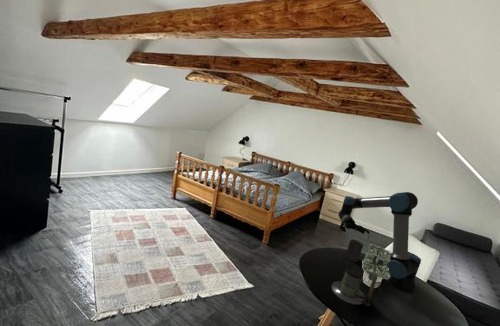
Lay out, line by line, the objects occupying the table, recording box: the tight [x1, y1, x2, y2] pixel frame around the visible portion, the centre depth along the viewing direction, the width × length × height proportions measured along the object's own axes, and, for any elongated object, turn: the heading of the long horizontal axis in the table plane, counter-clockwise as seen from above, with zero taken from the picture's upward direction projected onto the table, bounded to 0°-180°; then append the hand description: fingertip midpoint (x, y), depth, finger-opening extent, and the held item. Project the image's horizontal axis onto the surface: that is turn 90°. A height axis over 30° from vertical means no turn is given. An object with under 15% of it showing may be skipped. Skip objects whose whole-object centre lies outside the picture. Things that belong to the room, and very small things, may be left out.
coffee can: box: [340, 266, 364, 297], centre depth 169 cm, size 10×10×14 cm
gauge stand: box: [362, 271, 379, 308], centre depth 162 cm, size 5×4×19 cm
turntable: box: [331, 280, 366, 306], centre depth 171 cm, size 20×20×1 cm
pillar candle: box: [344, 238, 364, 263], centre depth 212 cm, size 10×10×15 cm
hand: (358, 235), depth 183 cm, fingers open, 13 cm apart
